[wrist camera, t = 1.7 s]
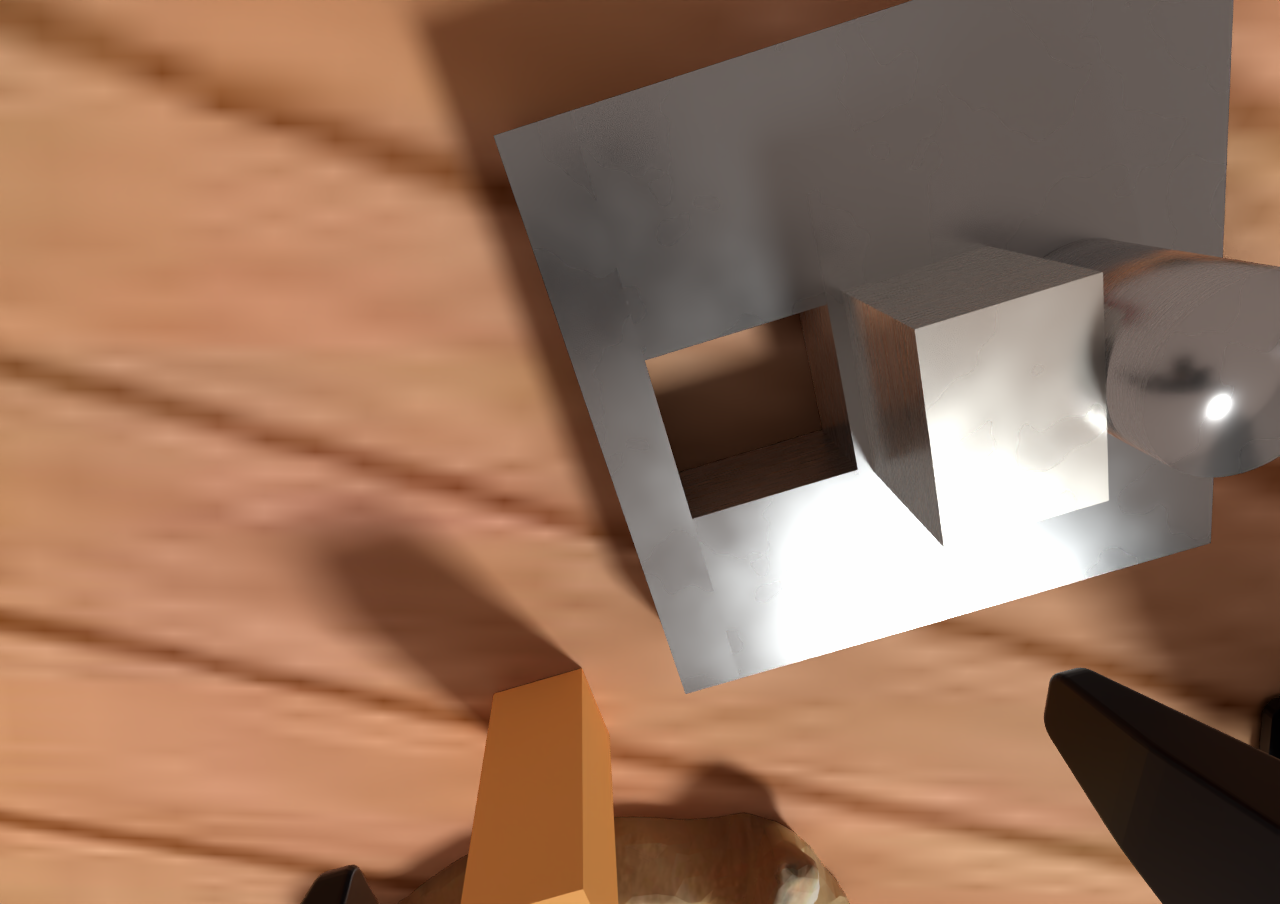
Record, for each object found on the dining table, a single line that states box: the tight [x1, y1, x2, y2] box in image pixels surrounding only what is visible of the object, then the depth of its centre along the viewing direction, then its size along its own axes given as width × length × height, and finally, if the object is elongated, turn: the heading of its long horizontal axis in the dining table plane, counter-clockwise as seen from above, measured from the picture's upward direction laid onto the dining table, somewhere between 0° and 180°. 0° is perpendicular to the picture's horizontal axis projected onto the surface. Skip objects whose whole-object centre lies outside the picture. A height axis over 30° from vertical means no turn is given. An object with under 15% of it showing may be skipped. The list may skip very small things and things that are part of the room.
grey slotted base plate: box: [494, 0, 1280, 694], centre depth 17 cm, size 16×16×8 cm
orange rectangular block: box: [461, 668, 618, 904], centre depth 21 cm, size 3×3×8 cm
